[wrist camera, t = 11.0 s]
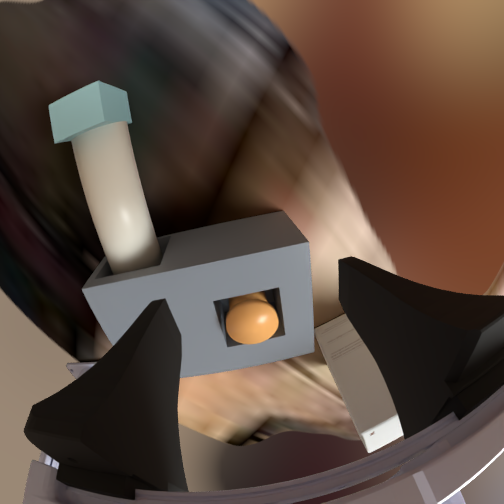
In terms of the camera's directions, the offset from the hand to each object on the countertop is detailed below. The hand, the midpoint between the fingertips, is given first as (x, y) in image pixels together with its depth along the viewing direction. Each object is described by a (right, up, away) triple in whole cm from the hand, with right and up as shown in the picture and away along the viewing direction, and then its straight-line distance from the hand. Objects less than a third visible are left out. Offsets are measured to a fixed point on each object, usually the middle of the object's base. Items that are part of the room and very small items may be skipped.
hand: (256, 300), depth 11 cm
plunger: (-1, -1, +9) cm, 9 cm away
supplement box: (+11, -7, +17) cm, 21 cm away
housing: (-4, 0, +11) cm, 12 cm away
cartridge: (-9, +7, +6) cm, 13 cm away
